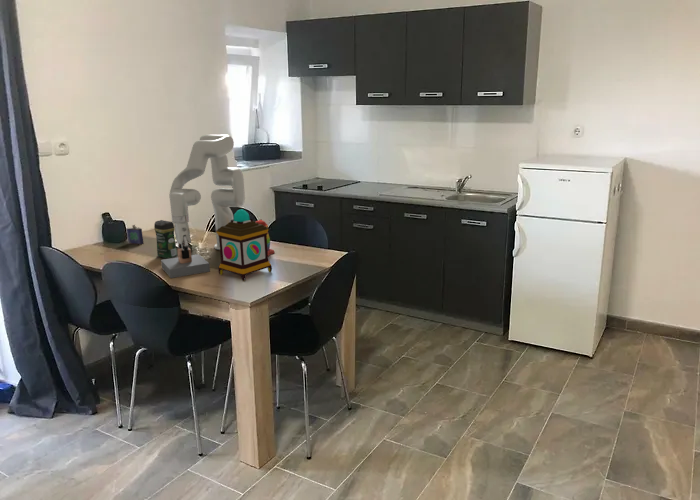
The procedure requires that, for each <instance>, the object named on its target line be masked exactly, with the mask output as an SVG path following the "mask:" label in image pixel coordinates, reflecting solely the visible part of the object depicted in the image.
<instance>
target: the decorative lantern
mask: <svg viewBox="0 0 700 500" xmlns="http://www.w3.org/2000/svg"><path fill="white" fill-rule="evenodd" d="M249 214H250V213H248V211H246V210H245V209H242V208H241V209H238V210H236V212H235V213H234V214H233V220H231V222H229V223H228V224H226V225H225V226H221V227H220V228H219V229H218V230H216V229H215V233H216V232H217V234H218V236H219V243H220V250H219V251H220V253H219V255H220V264H219V266H218V274H219V275H220V276H223V274H224V272H228V273H232V274H235V275H239V276H240V278H241V280H242V282H245V281H246V276H247V275H250V274H253V273H257V272H259V271H262V270H265V269H267V272H268V273H271V272H272V271H273V268H272V267H273V266H272V264H271V262H270V261H269V257H268V250H267V232H268V233H269V227H268V228H267V227H266V226H264V225H262V224H258V223H256V221H255V220H253V219H252V218H250V215H249Z"/></svg>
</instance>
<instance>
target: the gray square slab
mask: <svg viewBox="0 0 700 500" xmlns="http://www.w3.org/2000/svg"><path fill="white" fill-rule="evenodd" d="M191 257H192V262H188V263H182V264H181V263H180V262H179V260H178V256H176V257H172V258H163V259H161V260H160V263H161V265H160V266H161V269H162V271H164V272H165V273H166V274H167V276H168V277H169V278H170V279H173V278H180V277H184V276H191V275H197V274H202V273H208V272H211V268H210V262H208V260H206V259H205V258H204V257H202V256H201V254H198V253H195V254H191Z"/></svg>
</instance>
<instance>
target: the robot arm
mask: <svg viewBox="0 0 700 500" xmlns="http://www.w3.org/2000/svg"><path fill="white" fill-rule="evenodd" d="M234 143H235V142H234V139H233V137H232V136H231V135H229V134H204V135H201V136H200V137H199V140H197V141H195V142H193V144H192V147H191V151H190V153H189V158H188V161H187V164H186V167H185V168H184V169H183V170H181V172H179V173H178V174H177V176H175V178H174V179H173V180H172V183H171V186H170V189H169V193H168V194H169V205H170V212H171V213H170V214H171V222H172V223H173V224H174V237H175V241H176V242H177V247H178V248H182V259H187V258H189V248H190V247H189V244H191V243H192V238H191V233H190V226H189V222H190V215H189V209H188V208H189V207H190V206H196V205H198V204H199V203H200V202H201V198H202V196H201V193H200V191H199V190H197V189H194V188H183V187H184V186H185V185H186V184H187V183H188V182H190V181H192V180H194V179H196V178H197V179H198V178H199V177H201V176H203V175H204V174H205V172H206V171H205V170H206V167H207V164H208V160H210V166H211V167H210V168H211V177H212V182H213V184H214V185H215V186H221V187H219V188H214V189H213V190H212V192H211V193H210V199H211V203H212V207H213V213H214V225H215V234H216V235H215V237H216V243H215V244H214V246H213V247H214V249H215V250H217V251H218V250H219V251H220V243H219V236H218V234H217V232H216V230H218V229H219V228H220V227H221V226H225V225H226V224H228V223H229V222H231V220H234V214H233V210H231V208H241V207H243V206H244V204H245V199H246V197H245V196H246V195H245V181H244V180H245V179H244V175H243V172H242V170H241V169H240V168H238V167H229V161H228V160H229V159H228V156H227V154H229V153H230V152H231V151H232V150H233V149H234ZM223 187H224V188H223ZM227 187H232V188H227Z"/></svg>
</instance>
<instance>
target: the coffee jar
mask: <svg viewBox="0 0 700 500" xmlns="http://www.w3.org/2000/svg"><path fill="white" fill-rule="evenodd" d="M174 225H175V224H174V223H172V221H168V220H164V219H160V220H157V221H155V222H154V227H153V228H154V231H155V237H156V251H157V253H156V254H157V257H160V258H162V259H170V258H176V257H177V256H178V251H177V246H176V237H175V226H174Z"/></svg>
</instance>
